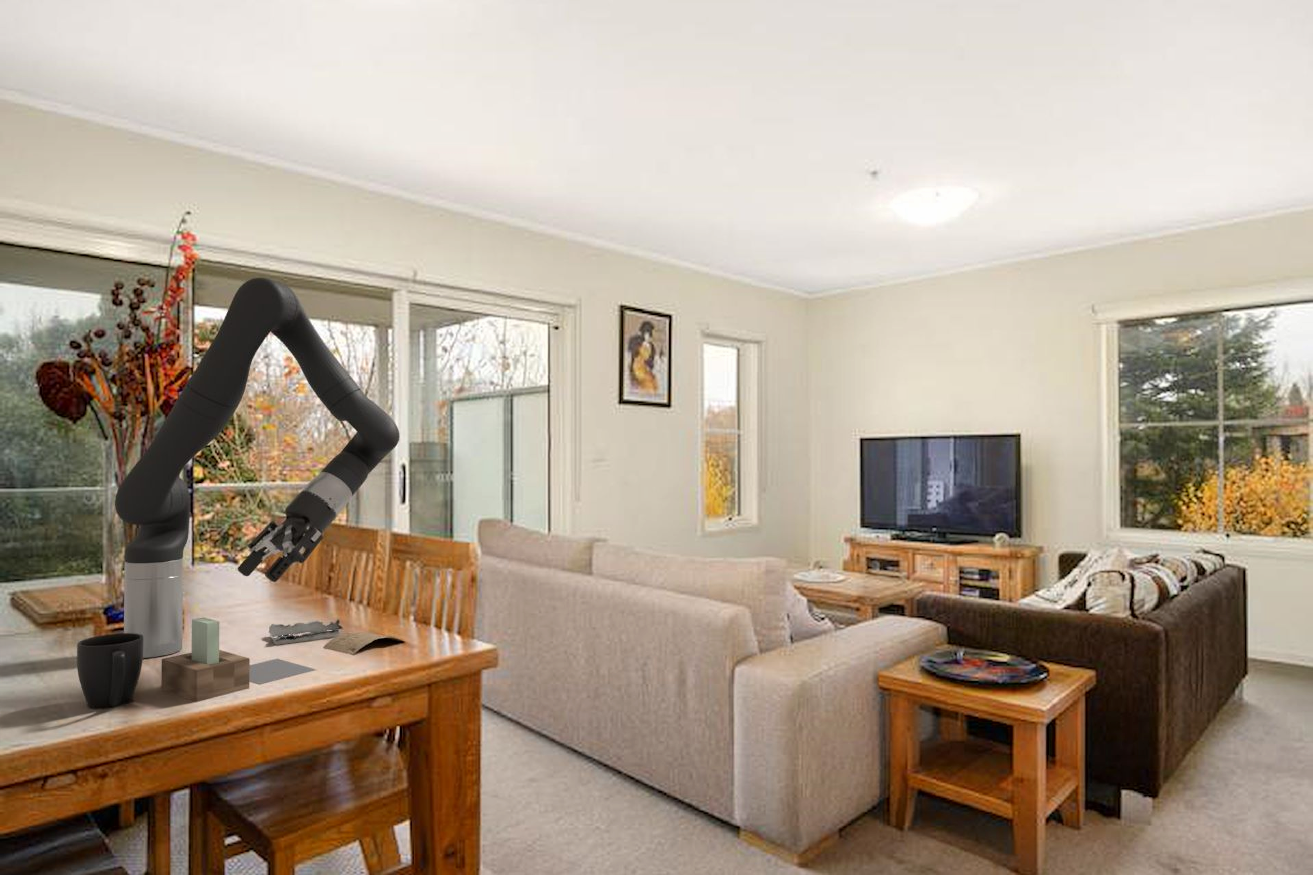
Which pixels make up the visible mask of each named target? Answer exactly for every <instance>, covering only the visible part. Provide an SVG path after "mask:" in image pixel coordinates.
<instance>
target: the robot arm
mask: <svg viewBox="0 0 1313 875" xmlns="http://www.w3.org/2000/svg"><path fill="white" fill-rule="evenodd" d="M270 333H271V334H272V335H274V336H275V337H276V338H277V339H278V340H279V341H280V342H281V343H282V344H283V345H284V347H286V348H287V350H288V351H289V352H290V353H291V354H292V356H293V358H294V360H295V361H296V363H297V364H298V365H299V368H300V369H301V371H302V374H303V375H304V377H305V379H306V381H307V383H308V385H309V386H310V388H311V389H312V391H313V392H314V393H315V395H316V397H318V399H319V401H321V403H322V404H323V405H324V407H325V408H326V409H327V410H328V411H329V413H330V414H331V415H332V416H333V417H334V418H335V419H336V420H337V421H339V422H347V423H348V424H349V425H350V426H351V427H352V428H353V429H354V430H355V431H356V432H355V434H354V435H353V436H352V438H351V439H350V440H349V441H348V443H347V444H346V445H345V446H344V447H343V449H342V450H341V451H340V452H339V453H338V454H336V455H335V456H334V457H333V458H332V459H331V460H330V461H328V463H327V464H326V466H325V467H324V468H323V469H322V470H321V471H320V472H319V473H318V474H317V475H316V476H315V477H313V478H312V479H311V480H310V481H309V482H308V483H307V484H306V485H305V487H303V488H302V490H301V491H300V492H299V493H297V495H296V496H295V497H294V498H293V499H292V501H291V502H290V503H289V504H288V505H287V506H286V507H285V509H284V514H285V516H286V519H285V520H284V521H283V522H282V523H280V524H279V525H278V524H277V523H276V522H275V520H274V521H271V522H269V523H268V524H267V525H266V527H264V528H263V529H262V531H260V533H259V534H258V535H256V537H255V538H254V539H253V540H252V541H251V542H250V543H249V544H248V546H247V547H248V548H249V549H250V551H251V553H249V555H248V556H247V557H246V558H245V559H244V560H243V561H242V562H241V563H240V565H239V566H238V567H237V571H238V572H239V573H240V574H242V576H244V577H249V576H250V575H251V574H253V572H254V571H255V570H256V569H257V567H258V566H259V565H260V564H261V563H262V562H263V560H264V559H266V558H268V557H269V556H271V555H276V554H278V553H280V552H281V556H279V557H277V559H276V560H275V561H274V562H273V563H272V564H271V565H270V567H269V568H268V569H267V570H266V571H265V573H264V575H265V577H266V578H267V579H268V580H269V581H271V582H273V583H276V582H278V580H279V579H280V578H281V577H282V575H284V573H286V571H287V570H288V569H289V567H290V566H294V565H296V563H299V564H303V563H304V562H305V561H306V560H307V559H308V558H309V556H310V555H311V554H312V552H314V550H315V549H316V547H317V546H318V545H319V544H320V542H321V541H323V539H324V537H325V536H324V535H323V534H324V532H325V531H326V530H327V528H329V526H331V524H332V523H333V521H334V520H336V518H337V517H339V516H338V515H340V513H341V512H342V511H343V510H344V509H345V507H346V506H347V504H348V503H349V501H351V499H352V497H353V496H354V495H355V494H356V492H357V491H358V490H359V489H360V488H361V487H362V486H363V484H364V483H365V482H366V480H367V479H368V477H369V474H370V473H371V472H372V471H373V470H374V469H376V467H377V466H378V465H379V463H381V462H382V461H383V460H384V459H385V458H386V457H387V455H389V454H390V452H391V451H393V450H394V449H395V448H396V447H397V446H398V444H399V442H400V431H399V428H398V425H397V424H396V422H395V421H394V420H393V418H392V417H391V416H390V415H389V414H388V413H387V412H386V411H385V410H384V409H383V408H381V407H380V406H379V405H378V404H376V402H374V401H373V400H371V399H370V398H369V397H368V396H366V394H365V393H364V392H363V390H362V389H361V388H360V386H359V385H358V384H357V382H356V381H355V380H354V378H352V376H351V375H350V374H349V373H348V371H347V370H346V369H345V367H344V366H343V365H342V364H341V363H340V361H339V360H338V358H336V356H335V355H334V354H333V352H332V351H331V350H330V349H329V348H328V346H327V345H326V343H325V342H324V340H323V339H322V337H321V336H320V335H319V333H318V331H317V330H316V329H315V327H314V325H313V324H312V321H311V320H310V318H309V316H308V314H307V312H306V310H305V308H304V307H303V306H302V304H301V302H300V300H299V298H298V296H297V294H296V293H295V292H294V291H293V290H292V288H291V287H289V286H288V285H286V284H284V283H282V282H280V281H276V280H274V279H271V278H267V277H254V278H251V279H249V280H247V281H245V282H244V283H242V284H241V286H239V287H238V289H237V290H236V292H235V294H234V296H233V298H232V300H231V303H230V305H229V308H228V309H227V311H226V313H225V316H224V319H223V320H222V323H221V326H220V327H219V329H218V331H217V333H216V334H215V337H214V339H213V340H212V342H211V344H210V345H209V347H208V348H207V350H206V351H205V353H204V355H203V356H202V358H201V360H200V361H199V362H198V365H197V366H196V367H195V370H194V371H193V373H192V374H191V376H190V377H189V379H188V381H187V382H186V383H185V386H183V388H182V390H181V392H180V393H179V395H178V397H177V399H176V400H175V403H174V405H173V407H172V408H171V410H170V411H169V413H168V415H167V416H166V418H165V419H164V421H163V423H162V424H161V426H160V428H159V429H158V431H157V433H156V434H155V436H154V438H153V440H152V441H151V442H150V444H149V446H148V447H147V449H146V450H145V452H144V453H143V454H142V455H141V457H140V458H139V459H138V461H137V462H136V463H135V465H134V466H133V468H132V469H131V470H130V471H129V472H128V474H127V475H126V477H124V479H123V480H122V482H121V484H120V485H119V486H118V489H117V491H116V493H115V499H114V507H115V511H116V514H117V516H118V517H119V519H120V520H122V521H123V522H125V523H127V524H130V525H136V526H140V527H139V531H138V534H137V535H136V537H135V538H134V539H133V540H132V541H131V542H130V543H129V544H127V546H126V547H125V548H124V575H123V576H124V589H123V590H124V591H123V593H124V600H123V603H124V604H123V606H124V609H123V633H135V634H141V635H143V659H144V658H145V659H146V658H157V657H163V656H166V655H167V656H168V655H171V654H174V653H177V652H179V651H181V650H182V649H183V623H184V622H183V620H184V619H183V616H184V606H183V605H184V551H185V550H184V549H185V547H186V544H187V543H188V539H189V535H190V534H189V532H190V531H189V530H190V520H191V519H190V518H191V517H190V516H191V514H190V513H191V495H190V491H189V488H188V485H187V484H186V482H185V480H183V479H182V478H181V477H179V476H180V474H181V472H182V471H183V470H184V468H185V467H187V466H186V465H187V464H189V462H191V460H192V459H193V458H194V457H195V456H196V455H197V454H198V453H200V452H201V451H202V450H203V449H204V448H205V447H207V446H208V445H209V444H210V443H211V442H212V441H213V440H214V439H215V438H217V436H219V435H220V434H221V432H223V430H225V428H226V426H227V425H228V423H229V422H230V421H231V419H232V417H233V416H234V414H235V412H236V410H237V408H238V407H239V405H240V403H241V402H242V399H243V397H244V395H245V392H246V391H245V390H246V387H247V383H248V378H249V372H250V370H251V366H252V362H253V359H254V358H255V355H256V354H257V352H258V351H259V349H260V347H261V346H262V345H263V342H264V341H265V340H266V338H267V337H268V336H269V334H270ZM304 549H305V550H304Z"/></svg>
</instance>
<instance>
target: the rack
mask: <svg viewBox="0 0 1313 875" xmlns="http://www.w3.org/2000/svg"><path fill="white" fill-rule="evenodd" d="M250 662H251V661H250V657H246V656H243V655H239V654H236V653H233V652H228V651H226V650H223V649H219V662H218V663H213V664H209V665H206V664H203V663H200V662H197V661H194V660H192V652H189V653H183V654H180V655H174V656H170V657H165V658H162V659H161V680H160V681H161V690H163V691H165V692H168V693H171V694H174V695H176V696H179V697H181V698H185V699H188V700H190V701H192V702H195V703H199V702H203V701H206V700H210V699H213V698H218V697H221V696H225V695H230V694H233V693H236V692H237V693H238V692H240V691H244V690H245V691H246V690H249V689H250V681H249V668H250V665H251V664H250Z"/></svg>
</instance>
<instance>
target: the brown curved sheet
mask: <svg viewBox="0 0 1313 875" xmlns="http://www.w3.org/2000/svg"><path fill="white" fill-rule="evenodd" d="M378 639H385V640H386V639H387V640H390V639H391V641H395V640H396V641H395V642H400V641H403V642H402V643H406V641H404V640H402V639H399V638H396V637H393V636H391V637H390V636H385V635H381V634H377V633H372V632H371V633H370V632H368V631H361V630H360V631H357V630H356V631H350V632H345V633H341V634H340V636H337V637H336V638H331V639H330V640H329V641H328V642H326V643H325V645H324V646H323V647H322V648H323V650H329V651H332V652H333V651H334V652H338V653H342V654H347V655H349V656H350V655H351V656H354V655H355V654H357V653H358V651H359V650H360V649H362V648H364V647H365V646H366V645H369V644H370V643H372V642H373V641H375V640H376V641H377V640H378Z"/></svg>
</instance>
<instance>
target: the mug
mask: <svg viewBox="0 0 1313 875" xmlns="http://www.w3.org/2000/svg"><path fill="white" fill-rule="evenodd" d="M143 660H144V658H143V635H141V634H135V633H124V632H121V633H112V634H111V633H110V634H103V635H97V636H92V637H89V638H86V639H82V640H80V641H78V642H77V645H76V668H77V675H78V679H79V685H80V687H81V690H82V693H83V696H84V699H85V701H86V704H87V707H88V708H90V709H95V710H96V709H109V708H116V707H120V706H124V705H126V704H129V703H131V702H132V700H133V698H134V694H135V691H136V689H137V685H138V682H139V680H140V676H141V673H142V672H141V670H142V666H143Z"/></svg>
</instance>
